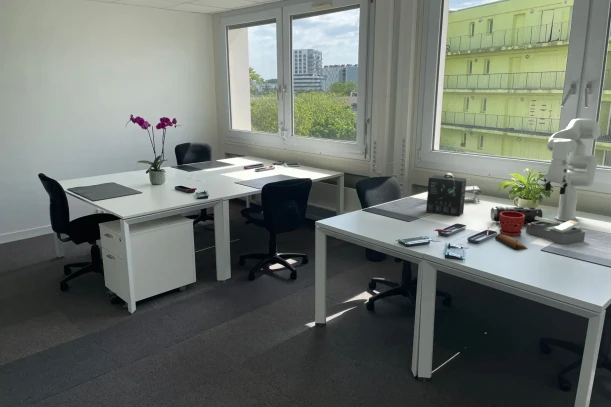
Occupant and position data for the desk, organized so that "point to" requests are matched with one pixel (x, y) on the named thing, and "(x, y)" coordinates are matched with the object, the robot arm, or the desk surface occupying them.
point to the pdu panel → (555, 232)
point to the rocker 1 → (545, 220)
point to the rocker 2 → (566, 226)
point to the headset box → (446, 195)
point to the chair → (471, 188)
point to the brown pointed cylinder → (510, 242)
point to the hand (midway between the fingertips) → (554, 192)
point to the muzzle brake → (528, 212)
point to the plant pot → (511, 223)
